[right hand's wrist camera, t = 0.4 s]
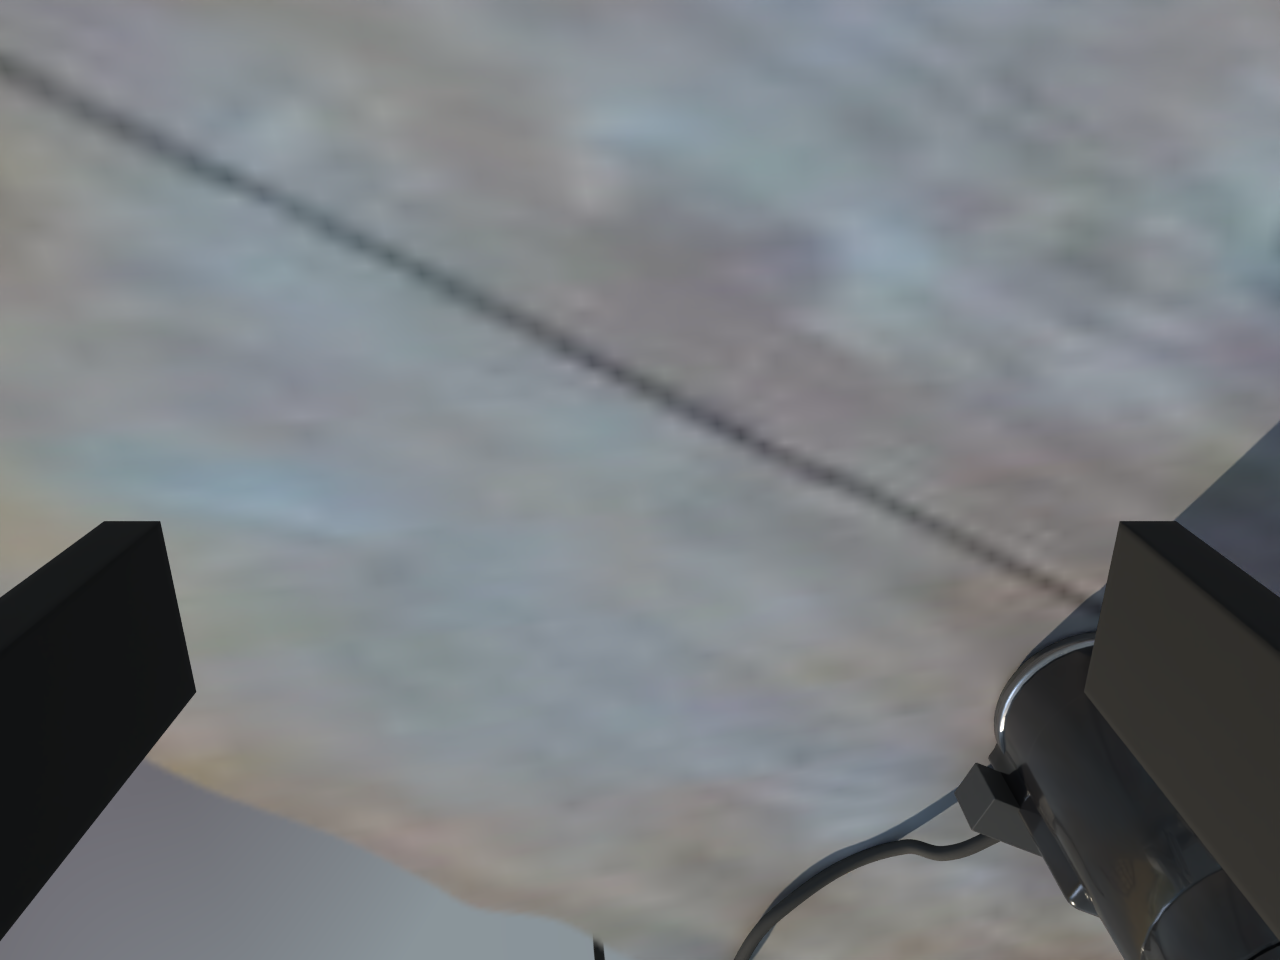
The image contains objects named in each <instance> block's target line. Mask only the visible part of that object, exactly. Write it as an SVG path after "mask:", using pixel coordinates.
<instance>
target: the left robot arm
mask: <svg viewBox="0 0 1280 960" xmlns="http://www.w3.org/2000/svg"><path fill="white" fill-rule="evenodd" d="M1095 636H1096V632H1092V633H1086V634H1080V635H1076V636H1073V637H1069V638H1066V639H1063V640H1061V641H1058V642H1056V643H1054V644H1052V645H1050V646H1048V647H1046V648H1044V649H1043V650H1041V651H1040V652H1038V653H1036V654H1035V655H1034V656H1032V657H1031V658H1030V659H1028V660H1027V661H1026V662H1025V663H1024V664H1023V665H1022V666H1021V667H1020V668H1019V669H1018V670H1017V671H1016V672H1015V673H1014V674H1013V676H1012V677H1011V678H1010V679H1009V681H1008V682H1007V684H1006V686H1005V687H1004V689H1003V691H1002V693H1001V695H1000V697H999V700H998V703H997V706H996V710H995V716H994V731H995V737H996V741H997V744H996V746H995V748H994V750H993V751H992V753H991V754H990V755H989V761H990V763H991V765H992V767H993V768H994V769H991V768H989V767H986V766H984V765H981V764H978V763H975V764H974V766H973V767H972V769H971V770H970V771H969V773H968V774H967V776H966V777H965V778H964V780H963V781H962V783H961V784H960V785H959V787H958V788H957V790H956V791H955V792H954V794H955V796H956V798H957V800H958V802H959V804H960V807H961V809H962V811H963V813H964V815H965V817H966V819H967V821H968V823H969V826H970V828H971V830H973V831H975V832H978V833H980V834H979V835H977V836H975V837H973V838H971V839H969V840H966V841H964V842H961V843H957V844H954V845H948V846H934V845H931V844H928V843H925V842H922V841H918V840H912V839H906V840H899V841H894V842H889V843H886V844H882V845H878V846H875V847H872V848H869V849H866V850H864V851H861V852H859V853H856V854H854V855H851V856H849V857H847V858H845V859H843V860H841V861H839V862H837V863H835V864H833V865H831V866H830V867H828V868H826V869H825V870H823V871H821V872H820V873H818V874H817V875H815V876H814V877H812V878H811V879H810V880H808V881H807V882H806V883H804V884H803V885H801V886H800V887H799V888H798V889H796V890H795V891H794V892H792V893H791V894H790V895H789V896H787V897H786V898H785V899H783V900H782V901H781V902H780V903H779V904H777V905H776V906H775V907H774V908H772V909H771V910H770V911H769V912H768V913H767V914H766V915H765V916H764V917H763V918H762V919H761V920H760V921H759V922H758V923H757V924H756V926H755V927H754V928H753V929H752V931H751V932H750V933H749V935H748V936H747V938H746V939H745V941H744V942H743V944H742V946H741V948H740V949H739V951H738V953H737V955H736V957H735V959H734V960H749V958H750V956H751V955H752V953H753V951H754V949H755V948H756V946H757V945H758V943H759V942H760V940H761V939H762V938H763V937H764V935H765V934H766V933H767V932H768V931H769V930H770V929H771V928H772V927H773V926H774V925H775V924H776V923H777V922H778V921H780V920H781V919H782V918H783V917H784V916H786V915H787V914H788V913H789V912H791V911H792V910H793V909H794V908H796V907H797V906H798V905H800V904H801V903H802V902H803V901H805V900H806V899H807V898H809V897H810V896H811V895H813V894H814V893H816V892H817V891H818V890H820V889H821V888H823V887H824V886H826V885H827V884H829V883H830V882H832V881H834V880H835V879H837V878H839V877H841V876H842V875H844V874H846V873H848V872H850V871H852V870H854V869H856V868H859V867H861V866H864V865H866V864H869V863H872V862H875V861H878V860H881V859H885V858H889V857H892V856H898V855H903V854H916V855H920V856H923V857H925V858H928V859H932V860H937V861H948V860H955V859H960V858H963V857H967V856H970V855H972V854H975V853H977V852H979V851H981V850H983V849H985V848H987V847H989V846H991V845H993V844H995V843H998V842H1000V841H1002V842H1004V843H1007V844H1009V845H1012V846H1015V847H1017V848H1020V849H1023V850H1025V851H1028V852H1031V853H1033V854H1036V855H1038V856H1041V857H1043V859H1044V861H1045V862H1046V864H1047V866H1048V868H1049V870H1050V871H1051V873H1052V875H1053V877H1054V879H1055V880H1056V882H1057V884H1058V886H1059V888H1060V890H1061V891H1062V893H1063V895H1064V897H1065V898H1066V900H1067V901H1068V902H1069V903H1070V904H1071V905H1072V906H1073V907H1075V908H1076V909H1078V910H1081V911H1083V912H1086V913H1089V914H1091V915H1094V916H1097V917H1099V918H1100V919H1101V921H1102V922H1103V924H1104V926H1105V927H1106V929H1107V931H1108V933H1109V934H1110V936H1111V938H1112V939H1113V941H1114V943H1115V944H1116V946H1117V948H1118V950H1119V951H1120V953H1121V955H1122V956H1123V958H1124V960H1280V941H1279V939H1278V938H1277V937H1276V936H1275V934H1274V933H1273V932H1272V930H1271V929H1270V928H1269V927H1268V925H1267V924H1266V923H1265V922H1264V920H1263V919H1262V918H1261V916H1260V915H1259V914H1258V913H1257V911H1256V910H1255V909H1254V908H1253V906H1252V905H1251V904H1250V903H1249V901H1248V900H1247V899H1246V897H1245V896H1244V895H1243V894H1242V892H1241V891H1240V890H1239V889H1238V887H1237V886H1236V885H1235V883H1234V882H1233V881H1232V880H1231V878H1230V877H1229V876H1228V875H1227V873H1226V872H1225V871H1224V869H1223V868H1222V867H1221V866H1220V864H1219V863H1218V862H1217V861H1216V859H1215V858H1214V857H1213V855H1212V854H1211V853H1210V852H1209V850H1208V849H1207V848H1206V847H1205V845H1204V844H1203V843H1202V842H1201V840H1200V839H1199V838H1198V836H1197V835H1196V834H1195V833H1194V831H1193V830H1192V829H1191V828H1190V826H1189V825H1188V824H1187V822H1186V821H1185V820H1184V819H1183V817H1182V816H1181V815H1180V814H1179V812H1178V811H1177V810H1176V808H1175V807H1174V806H1173V805H1172V803H1171V802H1170V801H1169V800H1168V798H1167V797H1166V796H1165V794H1164V793H1163V792H1162V791H1161V789H1160V788H1159V787H1158V786H1157V784H1156V783H1155V782H1154V780H1153V779H1152V778H1151V777H1150V775H1149V774H1148V773H1147V772H1146V770H1145V769H1144V768H1143V767H1142V765H1141V764H1140V763H1139V761H1138V760H1137V759H1136V758H1135V756H1134V755H1133V754H1132V753H1131V751H1130V750H1129V749H1128V747H1127V746H1126V745H1125V744H1124V742H1123V741H1122V740H1121V739H1120V737H1119V736H1118V735H1117V733H1116V732H1115V731H1114V730H1113V728H1112V727H1111V726H1110V725H1109V723H1108V722H1107V721H1106V719H1105V718H1104V717H1103V716H1102V714H1101V713H1100V712H1099V711H1098V709H1097V708H1096V707H1095V706H1094V704H1093V703H1092V702H1091V700H1090V699H1089V698H1088V697H1087V695H1086V694H1085V693H1084V689H1085V684H1086V679H1087V674H1088V670H1089V665H1090V660H1091V655H1092V651H1093V646H1094V641H1095ZM593 949H594V959H595V960H605V955H604V945H602V944H600V943H599V942H598V941H596V940H594V939H593Z"/></svg>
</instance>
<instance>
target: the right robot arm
mask: <svg viewBox="0 0 1280 960" xmlns="http://www.w3.org/2000/svg"><path fill="white" fill-rule="evenodd" d="M195 693H196V689H195V684H194V679H193V674H192V670H191V665H190V660H189V655H188V651H187V646H186V641H185V636H184V632H183V627H182V622H181V617H180V613H179V608H178V603H177V599H176V594H175V589H174V584H173V580H172V575H171V570H170V565H169V561H168V556H167V551H166V546H165V542H164V537H163V532H162V527H161V523H160V521H104V522H103V523H101V524H100V525H98V526H97V527H96V528H94V529H93V530H92V531H90V532H89V533H88V534H86V535H85V536H84V537H82V538H81V539H79V540H78V541H77V542H75V543H74V544H73V545H71V546H70V547H69V548H67V549H66V550H64V551H63V552H62V553H60V554H59V555H58V556H56V557H55V558H54V559H52V560H51V561H49V562H48V563H47V564H45V565H44V566H43V567H41V568H40V569H39V570H37V571H36V572H34V573H33V574H32V575H30V576H29V577H28V578H26V579H25V580H24V581H22V582H21V583H20V584H18V585H17V586H15V587H14V588H13V589H11V590H10V591H9V592H7V593H6V594H5V595H3V596H2V597H0V941H1V939H2V938H3V937H4V936H5V934H6V933H7V932H8V930H9V929H10V928H11V927H12V925H13V924H14V923H15V922H16V920H17V919H18V918H19V916H20V915H21V914H22V913H23V911H24V910H25V909H26V907H27V906H28V905H29V904H30V903H31V901H32V900H33V899H34V897H35V896H36V895H37V894H38V892H39V891H40V890H41V889H42V887H43V886H44V885H45V883H46V882H47V881H48V880H49V878H50V877H51V876H52V875H53V873H54V872H55V871H56V869H57V868H58V867H59V866H60V864H61V863H62V862H63V861H64V859H65V858H66V857H67V855H68V854H69V853H70V852H71V850H72V849H73V848H74V847H75V845H76V844H77V843H78V842H79V840H80V839H81V838H82V836H83V835H84V834H85V833H86V831H87V830H88V829H89V828H90V826H91V825H92V824H93V822H94V821H95V820H96V819H97V817H98V816H99V815H100V814H101V812H102V811H103V810H104V808H105V807H106V806H107V805H108V803H109V802H110V801H111V800H112V798H113V797H114V796H115V794H116V793H117V792H118V791H119V789H120V788H121V787H122V786H123V784H124V783H125V782H126V780H127V779H128V778H129V777H130V775H131V774H132V773H133V771H134V770H135V769H136V768H137V766H138V765H139V764H140V763H141V761H142V760H143V759H144V758H145V756H146V755H147V754H148V753H149V751H150V750H151V749H152V747H153V746H154V745H155V744H156V742H157V741H158V740H159V739H160V737H161V736H162V735H163V733H164V732H165V731H166V730H167V728H168V727H169V726H170V725H171V723H172V722H173V721H174V719H175V718H176V717H177V716H178V714H179V713H180V712H181V711H182V709H183V708H184V707H185V706H186V704H187V703H188V702H189V700H190V699H191V698H192V697H193V695H194V694H195ZM1084 693H1085V694H1086V695H1087V697H1088V698H1089V699H1090V700H1091V702H1092V703H1093V704H1094V706H1095V707H1096V708H1097V709H1098V711H1099V712H1100V713H1101V714H1102V716H1103V717H1104V718H1105V719H1106V721H1107V722H1108V723H1109V725H1110V726H1111V727H1112V728H1113V730H1114V731H1115V732H1116V733H1117V735H1118V736H1119V737H1120V739H1121V740H1122V741H1123V742H1124V744H1125V745H1126V746H1127V747H1128V749H1129V750H1130V751H1131V753H1132V754H1133V755H1134V756H1135V758H1136V759H1137V760H1138V761H1139V763H1140V764H1141V765H1142V767H1143V768H1144V769H1145V770H1146V772H1147V773H1148V774H1149V775H1150V777H1151V778H1152V779H1153V780H1154V782H1155V783H1156V784H1157V786H1158V787H1159V788H1160V789H1161V791H1162V792H1163V793H1164V794H1165V796H1166V797H1167V798H1168V800H1169V801H1170V802H1171V803H1172V805H1173V806H1174V807H1175V808H1176V810H1177V811H1178V812H1179V814H1180V815H1181V816H1182V817H1183V819H1184V820H1185V821H1186V822H1187V824H1188V825H1189V826H1190V828H1191V829H1192V830H1193V831H1194V833H1195V834H1196V835H1197V836H1198V838H1199V839H1200V840H1201V842H1202V843H1203V844H1204V845H1205V847H1206V848H1207V849H1208V850H1209V852H1210V853H1211V854H1212V855H1213V857H1214V858H1215V859H1216V861H1217V862H1218V863H1219V864H1220V866H1221V867H1222V868H1223V869H1224V871H1225V872H1226V873H1227V875H1228V876H1229V877H1230V878H1231V880H1232V881H1233V882H1234V883H1235V885H1236V886H1237V887H1238V889H1239V890H1240V891H1241V892H1242V894H1243V895H1244V896H1245V897H1246V899H1247V900H1248V901H1249V903H1250V904H1251V905H1252V906H1253V908H1254V909H1255V910H1256V911H1257V913H1258V914H1259V915H1260V916H1261V918H1262V919H1263V920H1264V922H1265V923H1266V924H1267V925H1268V927H1269V928H1270V929H1271V930H1272V932H1273V933H1274V934H1275V936H1276V937H1277V938H1278V939H1279V941H1280V597H1278V596H1277V595H1275V594H1274V593H1273V592H1271V591H1270V590H1269V589H1267V588H1266V587H1265V586H1263V585H1262V584H1260V583H1259V582H1258V581H1256V580H1255V579H1254V578H1252V577H1251V576H1250V575H1248V574H1247V573H1246V572H1244V571H1243V570H1241V569H1240V568H1239V567H1237V566H1236V565H1235V564H1233V563H1232V562H1231V561H1229V560H1228V559H1226V558H1225V557H1224V556H1222V555H1221V554H1220V553H1218V552H1217V551H1216V550H1214V549H1213V548H1211V547H1210V546H1209V545H1207V544H1206V543H1205V542H1203V541H1202V540H1201V539H1199V538H1198V537H1196V536H1195V535H1194V534H1192V533H1191V532H1190V531H1188V530H1187V529H1186V528H1184V527H1183V526H1182V525H1180V524H1179V523H1177V522H1176V521H1120V523H1119V527H1118V532H1117V537H1116V542H1115V546H1114V551H1113V556H1112V561H1111V565H1110V570H1109V575H1108V580H1107V584H1106V589H1105V594H1104V599H1103V603H1102V608H1101V613H1100V617H1099V622H1098V627H1097V632H1096V636H1095V641H1094V646H1093V651H1092V655H1091V660H1090V665H1089V670H1088V674H1087V679H1086V684H1085V689H1084Z"/></svg>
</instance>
